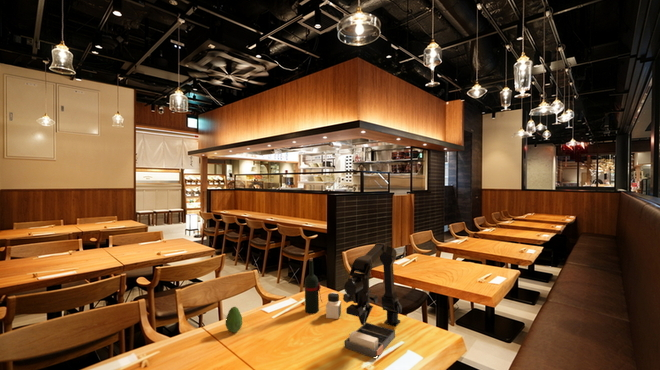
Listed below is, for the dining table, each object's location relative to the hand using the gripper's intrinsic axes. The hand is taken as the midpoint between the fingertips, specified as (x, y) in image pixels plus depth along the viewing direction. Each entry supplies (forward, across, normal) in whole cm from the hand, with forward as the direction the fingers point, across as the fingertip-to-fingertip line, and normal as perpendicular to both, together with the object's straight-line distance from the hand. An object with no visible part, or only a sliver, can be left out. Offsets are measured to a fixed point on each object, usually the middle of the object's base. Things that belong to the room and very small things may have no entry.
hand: (363, 323), depth 125 cm
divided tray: (+11, -7, 0) cm, 13 cm away
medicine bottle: (+11, -20, -29) cm, 37 cm away
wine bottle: (+11, -19, -42) cm, 47 cm away
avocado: (+11, +21, -61) cm, 66 cm away
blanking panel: (+10, 0, 0) cm, 11 cm away
